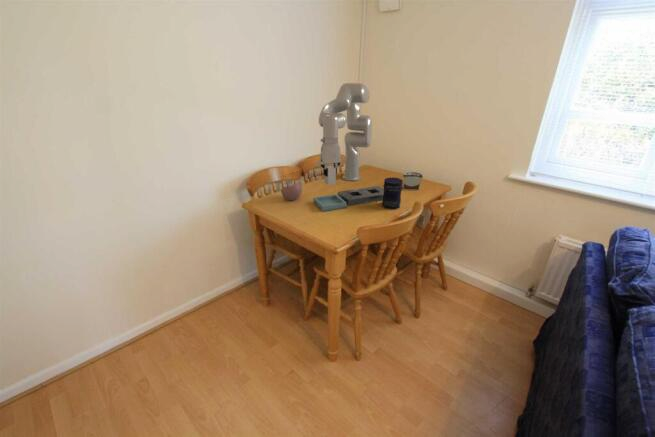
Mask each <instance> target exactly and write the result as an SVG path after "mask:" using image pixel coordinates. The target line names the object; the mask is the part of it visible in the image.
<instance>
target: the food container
mask: <svg viewBox="0 0 655 437" xmlns="http://www.w3.org/2000/svg"><path fill="white" fill-rule="evenodd" d="M402 177H403V183H402V190H404V189H408V191H419V190H420V187H421V186H420V185H421V182H422V179H423V178H424V176H423V174H422V173H420V172H417V171H406V172H404V173H403V174H402Z"/></svg>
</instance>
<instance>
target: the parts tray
mask: <svg viewBox="0 0 655 437" xmlns="http://www.w3.org/2000/svg"><path fill="white" fill-rule="evenodd" d="M313 204H315V205H316V206H317V207H318V209H320V211H321V212H323V213H325V212H331V211H336V210H341V209H347V208H348V207H347V206H348V205H347V203H346V202H345V201H344V200H343V199H341V198H340V197H339V196H338V194H337V193H335V194H329V195H328V194H327V195H323V196H315V197H313Z"/></svg>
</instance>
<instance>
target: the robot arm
mask: <svg viewBox="0 0 655 437" xmlns="http://www.w3.org/2000/svg"><path fill="white" fill-rule="evenodd" d="M370 96H371V95H370V90H369V88H368V87H367V86H366V85H365V84H363V83H362V82H361V83H357V82H355V83H354V82H353V83H352V82H350V83H349V82H347V83H343V84H342V85H341V86H340V88H339V90H338V92H337V94H336V97H335V98H334V99H333V100H330V101H329V102H328V103H326V104H324V106H323V107H322V109H321V111H320V113H319V116H318V124H319V126H320V127H321V128H322V138H321V139H320V142H321V148H320V157H319V159H318V160H317V162H316V164H318V165H319V166H320V167H321V168H322V169H323V171H322V172H323V176H324V177H325V176H326V177H327V166H328V165H332V164H333V166H334V167H336V174H338V168H339V166H340V165H341V164H342V163H343V162H344V171H343V172H344V174H343V175H342V179H343V180H345V181H348V182H354V181H357V182H358V181H359V180H361V175H359V172H360V151H359V149H358V148H364V149H365V148H369V147H371V144H372V133H373V132H372V130H373V129H372V126H373V124H372V123H373V121H372V120H373V119H372V117H371V116H370V115H365V114H361V105H360V104H367V103H368V102H369V100H370ZM345 111H346V114H344V113H342V112H345ZM345 126H347V127H346V128H347V129H348V130H349V132H346V133H345V135H344V145H345V149H344V150H345V159H344V160H343V158H342V152H341V145H340V142H339V129H343V128H345Z"/></svg>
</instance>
